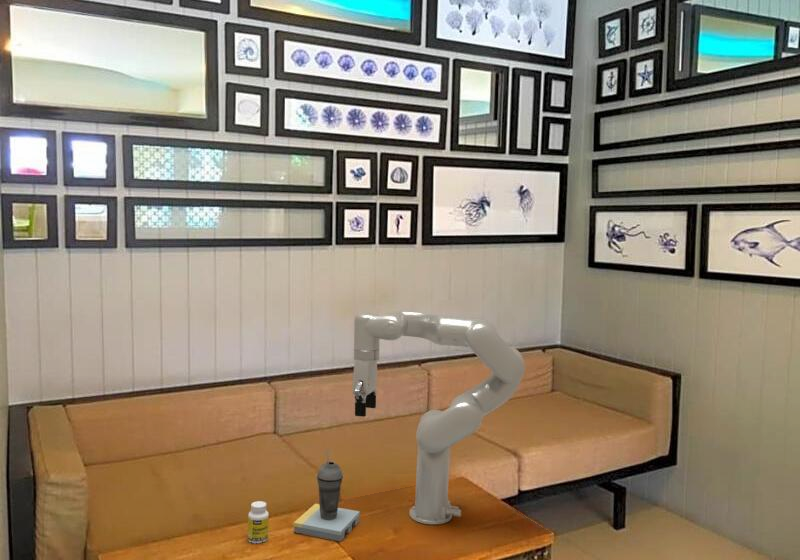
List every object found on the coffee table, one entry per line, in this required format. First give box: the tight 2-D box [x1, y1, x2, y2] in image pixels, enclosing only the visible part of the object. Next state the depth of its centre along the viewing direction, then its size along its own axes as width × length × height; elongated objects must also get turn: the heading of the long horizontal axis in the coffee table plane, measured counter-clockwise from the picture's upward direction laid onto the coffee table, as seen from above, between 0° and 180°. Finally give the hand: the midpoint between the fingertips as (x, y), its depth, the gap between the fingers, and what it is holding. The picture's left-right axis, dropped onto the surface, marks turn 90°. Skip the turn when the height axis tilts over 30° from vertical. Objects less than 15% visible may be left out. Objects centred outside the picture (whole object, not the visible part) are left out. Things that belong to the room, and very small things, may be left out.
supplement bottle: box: [246, 500, 270, 544], centre depth 179 cm, size 5×5×10 cm
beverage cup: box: [316, 446, 344, 520], centre depth 187 cm, size 7×7×20 cm
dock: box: [293, 503, 361, 543], centre depth 188 cm, size 14×14×3 cm
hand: (365, 411), depth 199 cm, fingers open, 9 cm apart
